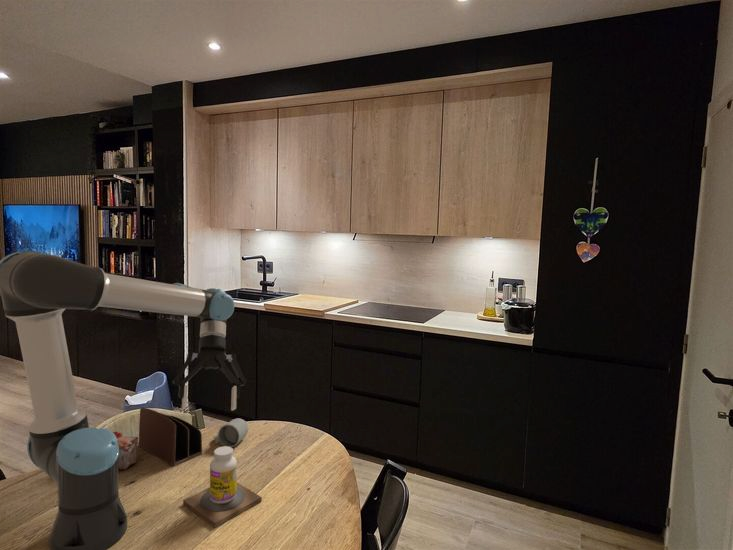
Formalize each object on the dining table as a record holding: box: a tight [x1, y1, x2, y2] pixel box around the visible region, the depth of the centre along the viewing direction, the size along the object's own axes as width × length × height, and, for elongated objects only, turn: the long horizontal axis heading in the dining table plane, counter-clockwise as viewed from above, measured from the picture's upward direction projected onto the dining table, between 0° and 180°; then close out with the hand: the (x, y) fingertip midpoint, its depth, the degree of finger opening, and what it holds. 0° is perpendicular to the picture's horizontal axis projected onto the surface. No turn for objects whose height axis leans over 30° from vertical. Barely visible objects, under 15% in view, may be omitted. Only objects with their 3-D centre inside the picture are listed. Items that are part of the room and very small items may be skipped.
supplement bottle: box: [209, 445, 238, 504], centre depth 116 cm, size 7×7×13 cm
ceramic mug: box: [213, 417, 249, 449], centre depth 150 cm, size 11×8×8 cm
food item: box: [112, 431, 139, 470], centre depth 132 cm, size 14×8×10 cm, turn 90°
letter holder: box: [138, 407, 203, 467], centre depth 142 cm, size 10×20×14 cm, turn 55°
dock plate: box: [182, 482, 263, 529], centre depth 116 cm, size 14×14×1 cm
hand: (209, 409), depth 126 cm, fingers open, 13 cm apart
